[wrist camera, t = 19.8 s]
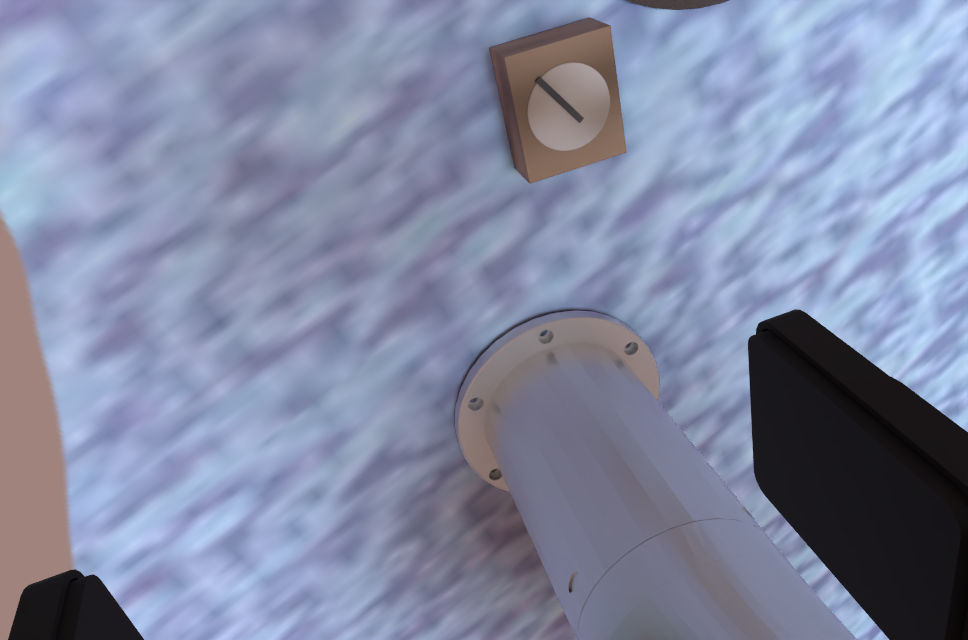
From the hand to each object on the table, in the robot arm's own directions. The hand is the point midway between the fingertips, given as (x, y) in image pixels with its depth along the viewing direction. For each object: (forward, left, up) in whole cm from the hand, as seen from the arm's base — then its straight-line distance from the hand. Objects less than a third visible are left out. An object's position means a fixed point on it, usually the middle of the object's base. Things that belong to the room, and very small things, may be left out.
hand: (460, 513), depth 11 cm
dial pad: (-4, -11, -28) cm, 31 cm away
